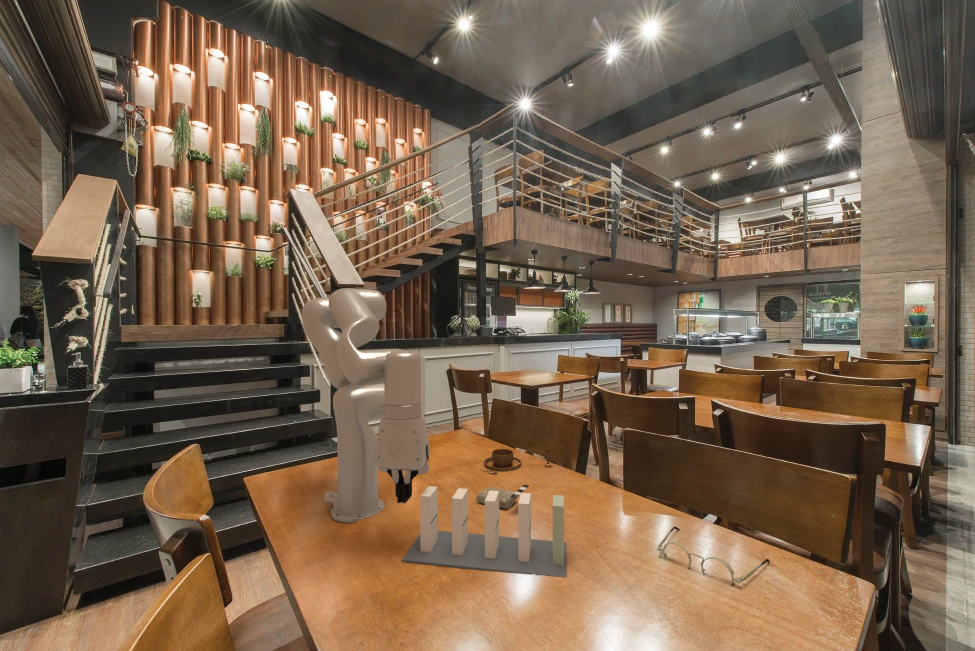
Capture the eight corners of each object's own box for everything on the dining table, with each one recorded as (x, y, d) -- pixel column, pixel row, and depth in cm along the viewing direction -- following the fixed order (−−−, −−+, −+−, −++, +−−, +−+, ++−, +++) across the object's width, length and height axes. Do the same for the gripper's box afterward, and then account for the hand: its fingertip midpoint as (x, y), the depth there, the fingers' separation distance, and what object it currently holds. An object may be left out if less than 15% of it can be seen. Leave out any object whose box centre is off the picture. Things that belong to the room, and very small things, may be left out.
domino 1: (420, 551, 83) (420, 495, 83) (428, 538, 88) (428, 486, 88) (430, 552, 82) (430, 496, 82) (437, 539, 87) (437, 486, 87)
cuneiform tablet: (515, 497, 99) (473, 487, 105) (516, 515, 99) (474, 505, 105) (529, 485, 105) (488, 477, 111) (530, 502, 105) (489, 493, 111)
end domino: (564, 551, 83) (563, 495, 82) (563, 565, 78) (563, 506, 78) (553, 550, 83) (553, 494, 83) (552, 564, 78) (552, 505, 78)
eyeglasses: (649, 559, 81) (649, 533, 81) (680, 532, 91) (680, 509, 91) (749, 602, 69) (749, 571, 69) (772, 565, 79) (772, 538, 79)
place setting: (505, 456, 145) (505, 439, 145) (555, 469, 132) (555, 450, 132) (471, 470, 131) (470, 451, 131) (523, 485, 118) (522, 465, 118)
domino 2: (452, 554, 82) (451, 498, 81) (458, 541, 86) (458, 488, 86) (462, 555, 81) (462, 499, 81) (468, 542, 86) (467, 488, 86)
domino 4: (518, 561, 79) (518, 503, 79) (520, 547, 84) (520, 492, 84) (529, 562, 79) (528, 504, 79) (531, 548, 84) (531, 493, 84)
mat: (401, 561, 80) (401, 559, 80) (422, 531, 92) (422, 529, 92) (566, 579, 74) (566, 577, 74) (566, 544, 86) (566, 542, 86)
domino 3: (484, 557, 80) (484, 500, 80) (489, 544, 85) (489, 490, 85) (495, 558, 80) (495, 501, 80) (499, 545, 85) (499, 491, 85)
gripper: (360, 414, 84) (361, 505, 84) (432, 416, 81) (432, 511, 81) (377, 406, 91) (378, 490, 91) (443, 408, 88) (444, 495, 88)
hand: (403, 500), depth 86 cm, fingers closed
